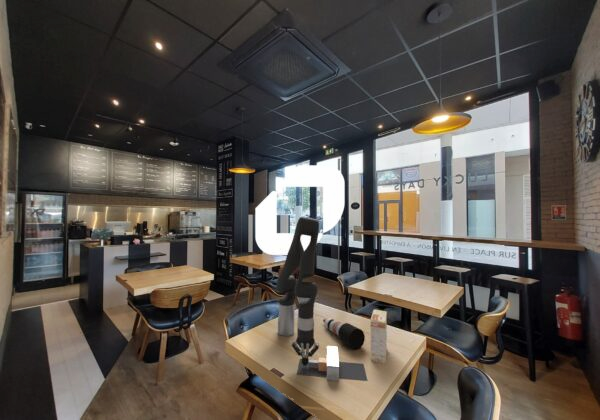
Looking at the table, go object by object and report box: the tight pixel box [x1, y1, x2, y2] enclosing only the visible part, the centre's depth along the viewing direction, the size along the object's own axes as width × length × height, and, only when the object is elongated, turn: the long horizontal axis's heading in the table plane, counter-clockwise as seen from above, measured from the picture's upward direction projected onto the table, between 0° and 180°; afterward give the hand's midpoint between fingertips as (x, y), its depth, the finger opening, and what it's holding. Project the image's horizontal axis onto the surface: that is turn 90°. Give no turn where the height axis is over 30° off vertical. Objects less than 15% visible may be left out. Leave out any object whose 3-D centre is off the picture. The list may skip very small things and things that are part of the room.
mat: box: [296, 358, 368, 382], centre depth 110 cm, size 30×12×1 cm, turn 83°
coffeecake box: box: [370, 309, 388, 365], centre depth 123 cm, size 15×7×20 cm, turn 157°
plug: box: [309, 357, 340, 371], centre depth 110 cm, size 14×3×4 cm, turn 82°
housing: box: [326, 345, 340, 382], centre depth 110 cm, size 5×16×6 cm, turn 173°
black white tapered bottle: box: [322, 317, 366, 350], centre depth 142 cm, size 10×34×10 cm, turn 24°
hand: (305, 364), depth 111 cm, fingers closed
